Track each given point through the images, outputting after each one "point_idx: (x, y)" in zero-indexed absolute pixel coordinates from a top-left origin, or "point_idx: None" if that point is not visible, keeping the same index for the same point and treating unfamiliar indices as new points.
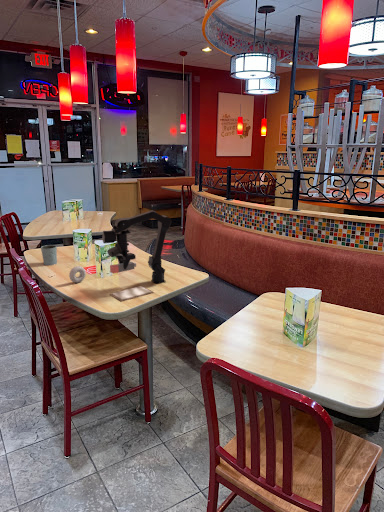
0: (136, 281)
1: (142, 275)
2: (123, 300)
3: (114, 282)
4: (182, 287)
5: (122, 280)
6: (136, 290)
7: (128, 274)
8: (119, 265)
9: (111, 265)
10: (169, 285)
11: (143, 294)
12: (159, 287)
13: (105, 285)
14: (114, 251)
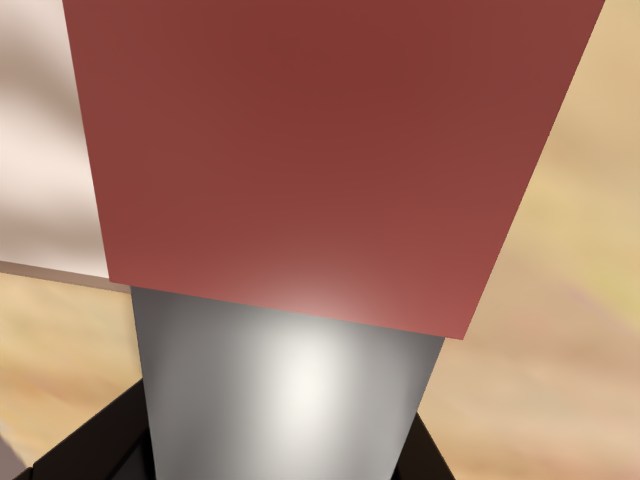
0: None
1: (446, 459)
2: None
3: (560, 192)
4: (8, 441)
5: (517, 292)
6: (87, 181)
7: (592, 422)
8: (205, 359)
9: (476, 62)
10: None
11: None
12: (89, 366)
13: (600, 19)
14: None
